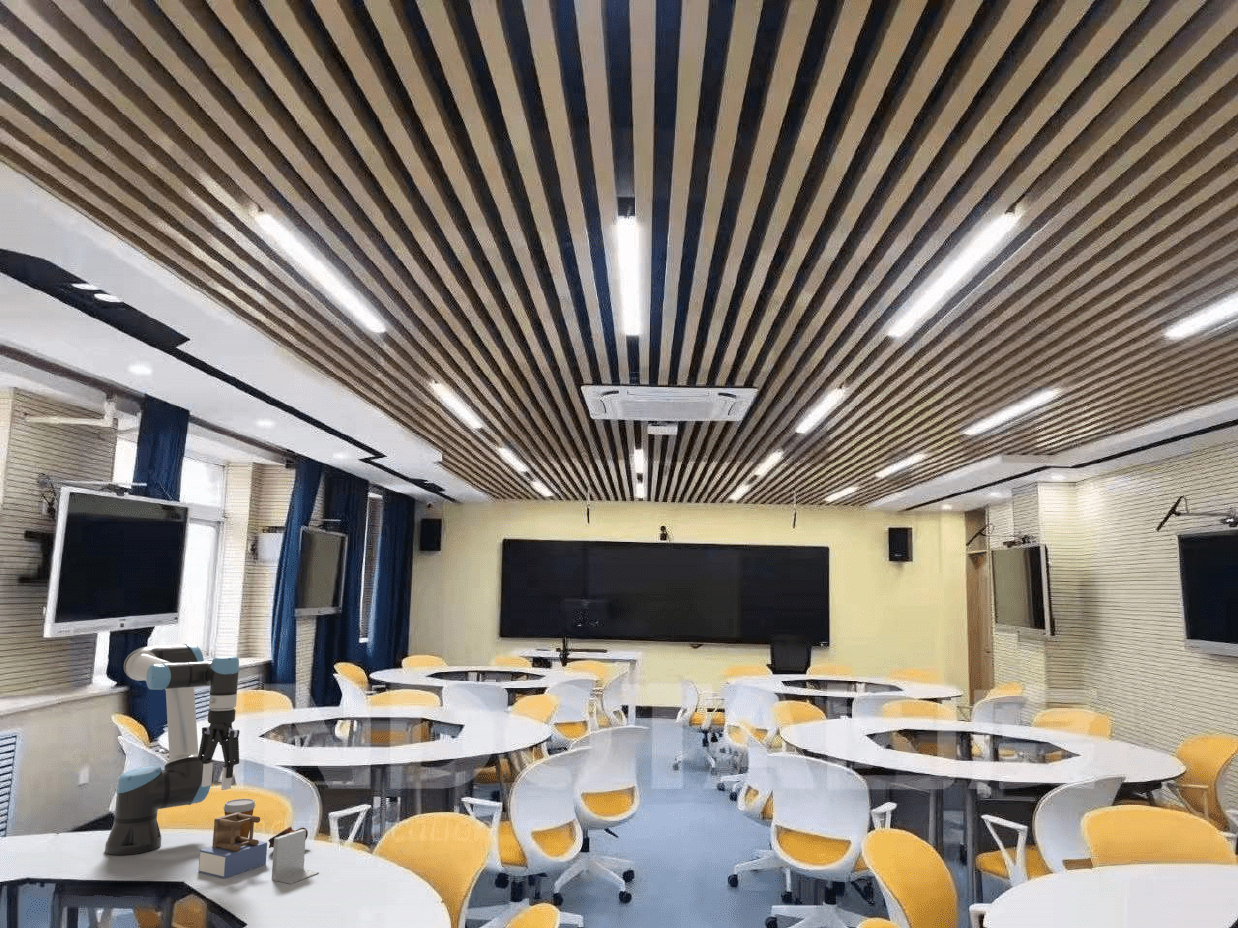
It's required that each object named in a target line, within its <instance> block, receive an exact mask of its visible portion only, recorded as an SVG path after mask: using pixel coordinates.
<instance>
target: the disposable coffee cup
mask: <svg viewBox="0 0 1238 928" xmlns="http://www.w3.org/2000/svg"><path fill="white" fill-rule="evenodd" d="M255 808H256V803H255V800H254V799H252V798H238V799H237V798H236V799H231V800H227V801H226V802H225V803H224V806H223V811H224V816H226V815H230V814H233V813H237V812H240V813H242V814H246V815H251V816H254V815H253V813H254V809H255ZM249 834H250V821H249V822H245V823H242V826H241V830H240V837H245V838H249Z"/></svg>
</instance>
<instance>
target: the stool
mask: <svg viewBox="0 0 1238 928" xmlns="http://www.w3.org/2000/svg"><path fill="white" fill-rule="evenodd" d="M213 819H214V820H213V833H212V834H213V835H212V845H211V846H212V848H221V849H225V850H230V851H234V852H238V851H239V850H240V847H241V846H244V845H253V846H257V845H258V844H259V841H260V840H259V839H254V827H255V826H254V825H255V824H257V823H260V822H261V817H260V816H256V815H255V816H254V815H252V816H251V815H246V814H242V813H240V812H237V813H233V814H230V815H226V816H225V815H223V816H219V817H216V818H213ZM249 821H250V831H249V836H248V838H245V837H240V830H241V826H242V823H245V822H249ZM235 842H239V843H240V844H237V845H234V843H235Z"/></svg>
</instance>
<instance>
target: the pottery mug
mask: <svg viewBox="0 0 1238 928" xmlns="http://www.w3.org/2000/svg"><path fill="white" fill-rule="evenodd" d="M301 829H304V830H306V839H305V841H306V840H307V838H308V835H309V831H308V830H307V828H305V827H299V828H298V829H296V830H295V829H293V828H292V826H289V827H287V828H285V829H283V830H282V831H281V832H279V833H277V834H276V835H273V836H272V837H270V838H269V839H268V840H267V842H269V845H268V848H269V849H271V848H273V849H274V838H276V837H279V836H283V835H286V834H289V833H292V832H295V831H298V830H301Z"/></svg>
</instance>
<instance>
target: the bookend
mask: <svg viewBox="0 0 1238 928" xmlns="http://www.w3.org/2000/svg"><path fill="white" fill-rule="evenodd" d="M297 830H298V829H297ZM306 830H307V829H306ZM306 830H304V829H301V830H298V831H295V832H292V833H289V834H286V835H283V836H279V837H276V838H274V848H273V852H272V868H271V880H272V881H276V882H280V883H284V884H289V885H292V884H295V883H297V882H300V881H303V880H305V879H306V880H307V879H308V878H310V877H311V878H312V877H313V876H315V875H319V873H320V872H318V871H314V870H310V869H306V868H305V856H306V855H305V852H306V840H307V839H306ZM305 839H306V840H305Z"/></svg>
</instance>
